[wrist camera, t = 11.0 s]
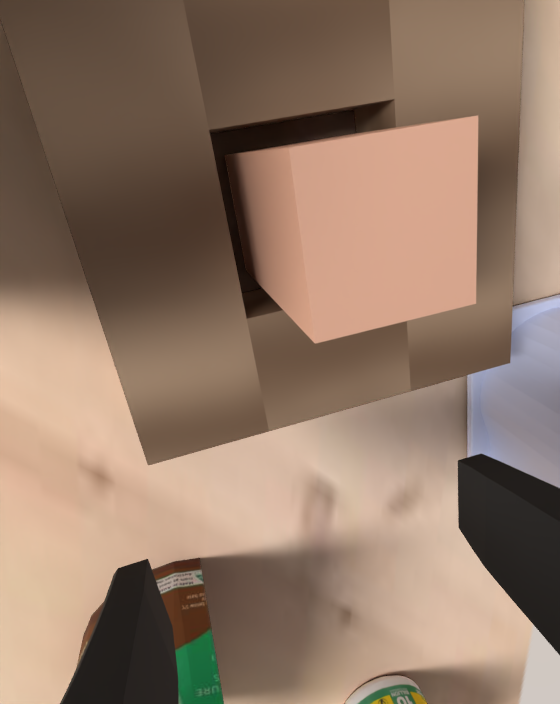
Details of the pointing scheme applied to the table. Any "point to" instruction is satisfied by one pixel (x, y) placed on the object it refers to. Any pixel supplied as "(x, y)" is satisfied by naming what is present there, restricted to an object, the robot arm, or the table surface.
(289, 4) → the walnut stand board
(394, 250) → the terracotta peg
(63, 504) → the table surface
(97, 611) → the food container
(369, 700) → the supplement bottle
